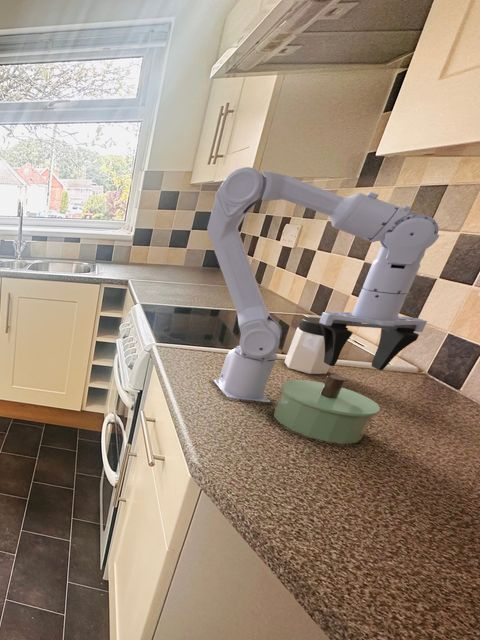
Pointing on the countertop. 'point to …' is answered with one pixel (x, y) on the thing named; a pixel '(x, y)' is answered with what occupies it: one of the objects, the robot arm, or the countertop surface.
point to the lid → (330, 397)
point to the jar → (308, 348)
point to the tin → (320, 421)
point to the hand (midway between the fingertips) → (352, 366)
